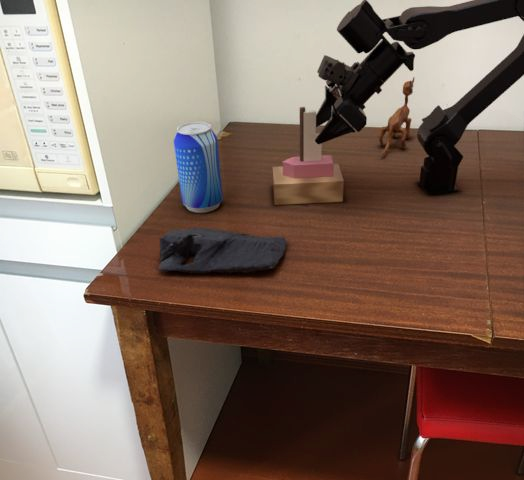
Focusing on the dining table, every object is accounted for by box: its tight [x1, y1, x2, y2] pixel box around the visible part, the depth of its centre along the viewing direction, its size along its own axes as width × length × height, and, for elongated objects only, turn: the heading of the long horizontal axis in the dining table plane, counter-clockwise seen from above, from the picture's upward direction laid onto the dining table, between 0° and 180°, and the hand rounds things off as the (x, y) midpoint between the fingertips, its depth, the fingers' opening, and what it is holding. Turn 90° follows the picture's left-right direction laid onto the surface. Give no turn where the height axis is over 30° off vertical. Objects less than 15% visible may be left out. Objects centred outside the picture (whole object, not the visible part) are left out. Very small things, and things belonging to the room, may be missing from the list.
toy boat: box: [282, 106, 335, 178], centre depth 119 cm, size 10×4×13 cm, turn 91°
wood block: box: [272, 163, 345, 206], centre depth 124 cm, size 14×9×4 cm, turn 91°
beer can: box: [173, 121, 224, 214], centre depth 119 cm, size 8×8×16 cm
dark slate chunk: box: [157, 227, 288, 274], centre depth 105 cm, size 15×22×5 cm
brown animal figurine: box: [378, 76, 415, 156], centre depth 140 cm, size 18×7×14 cm, turn 153°
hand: (314, 134), depth 118 cm, fingers open, 9 cm apart
